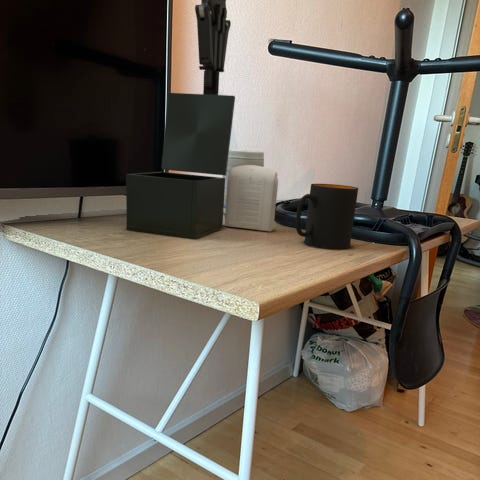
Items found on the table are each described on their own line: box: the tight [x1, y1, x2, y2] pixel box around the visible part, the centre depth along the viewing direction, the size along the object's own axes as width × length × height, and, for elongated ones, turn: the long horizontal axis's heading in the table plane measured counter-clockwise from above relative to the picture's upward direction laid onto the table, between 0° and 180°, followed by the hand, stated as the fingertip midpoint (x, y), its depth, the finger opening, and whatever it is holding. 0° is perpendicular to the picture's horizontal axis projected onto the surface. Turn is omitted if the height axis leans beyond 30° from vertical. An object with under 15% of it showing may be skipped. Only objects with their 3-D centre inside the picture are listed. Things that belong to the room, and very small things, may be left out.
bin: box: [125, 171, 225, 240], centre depth 91 cm, size 14×14×10 cm
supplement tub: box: [222, 149, 265, 215], centre depth 115 cm, size 10×10×15 cm
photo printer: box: [224, 165, 279, 233], centre depth 97 cm, size 10×4×12 cm, turn 75°
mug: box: [295, 183, 359, 250], centre depth 86 cm, size 8×12×10 cm
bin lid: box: [160, 92, 236, 176], centre depth 94 cm, size 14×14×1 cm
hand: (210, 106), depth 100 cm, fingers closed
